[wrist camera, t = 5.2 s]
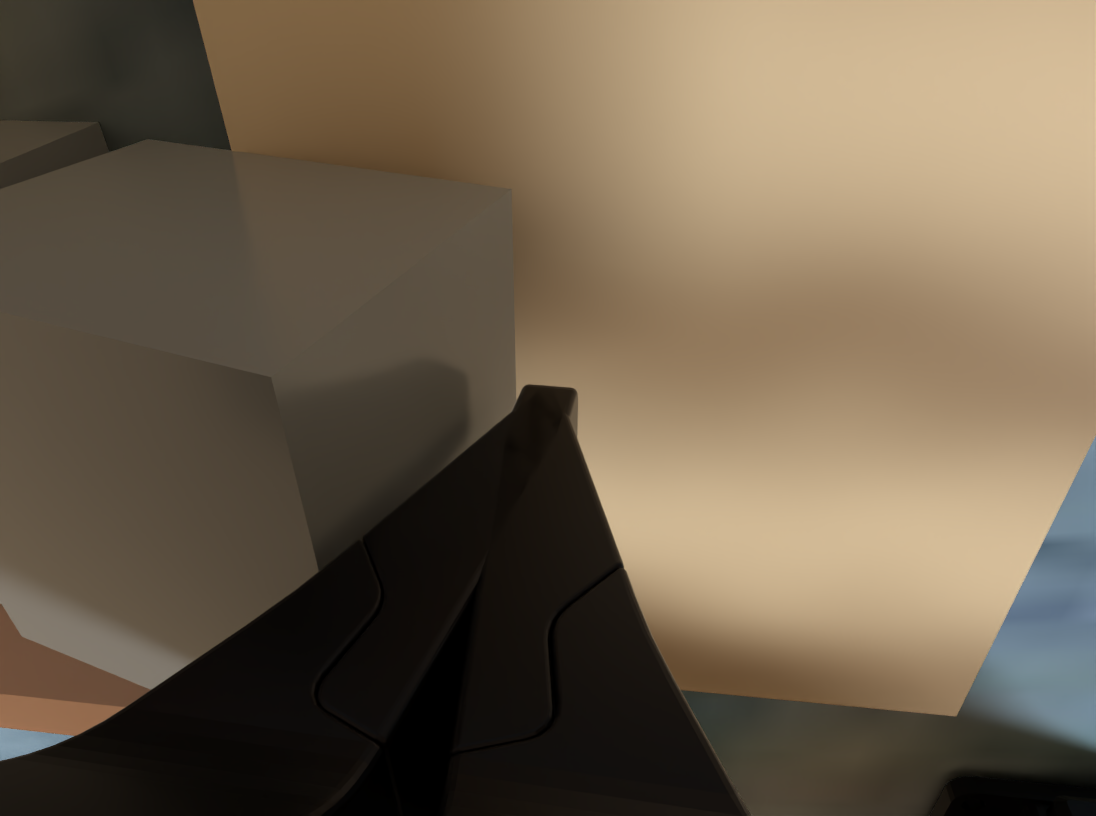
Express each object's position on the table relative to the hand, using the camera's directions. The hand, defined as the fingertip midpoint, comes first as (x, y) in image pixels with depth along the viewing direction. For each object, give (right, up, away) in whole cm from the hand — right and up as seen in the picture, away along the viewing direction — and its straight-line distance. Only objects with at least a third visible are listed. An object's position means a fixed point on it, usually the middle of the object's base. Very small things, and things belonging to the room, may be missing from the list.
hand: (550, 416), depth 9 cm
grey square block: (-3, +1, +1) cm, 3 cm away
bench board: (+2, +2, +3) cm, 4 cm away
